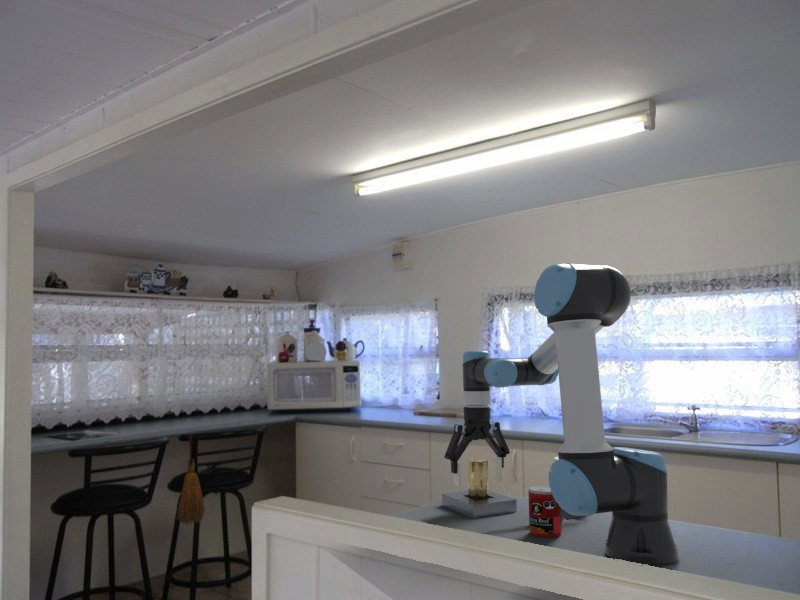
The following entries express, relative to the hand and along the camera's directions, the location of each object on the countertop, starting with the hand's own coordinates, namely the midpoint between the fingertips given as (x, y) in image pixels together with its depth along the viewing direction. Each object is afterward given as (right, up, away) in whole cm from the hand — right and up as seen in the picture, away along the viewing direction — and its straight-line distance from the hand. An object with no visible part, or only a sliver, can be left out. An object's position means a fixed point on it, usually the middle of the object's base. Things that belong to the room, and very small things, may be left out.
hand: (478, 482), depth 189 cm
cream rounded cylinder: (0, -7, 0) cm, 7 cm away
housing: (0, -8, -1) cm, 8 cm away
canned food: (+14, -7, -21) cm, 27 cm away
